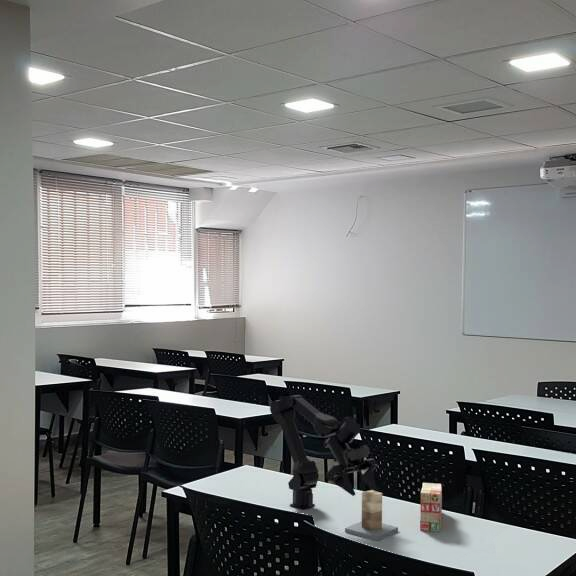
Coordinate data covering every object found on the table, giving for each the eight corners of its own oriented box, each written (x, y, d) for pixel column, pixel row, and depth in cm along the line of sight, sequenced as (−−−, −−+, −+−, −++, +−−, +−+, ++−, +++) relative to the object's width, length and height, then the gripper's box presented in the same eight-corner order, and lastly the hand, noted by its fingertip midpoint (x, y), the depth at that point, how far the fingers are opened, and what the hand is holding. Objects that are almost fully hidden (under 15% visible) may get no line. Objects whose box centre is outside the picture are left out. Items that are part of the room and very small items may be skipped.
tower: (361, 527, 227) (361, 492, 227) (371, 524, 230) (371, 489, 230) (371, 531, 223) (372, 495, 223) (381, 528, 226) (382, 493, 226)
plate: (344, 532, 226) (345, 528, 226) (366, 522, 235) (366, 519, 235) (377, 540, 218) (377, 536, 218) (398, 531, 227) (398, 527, 227)
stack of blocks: (423, 511, 249) (423, 475, 249) (441, 512, 248) (442, 476, 248) (420, 530, 228) (420, 492, 228) (440, 532, 227) (440, 493, 227)
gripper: (333, 440, 227) (356, 483, 219) (374, 434, 239) (398, 474, 231) (315, 460, 233) (338, 503, 225) (356, 453, 245) (379, 493, 237)
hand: (364, 492), depth 229 cm, fingers open, 9 cm apart
